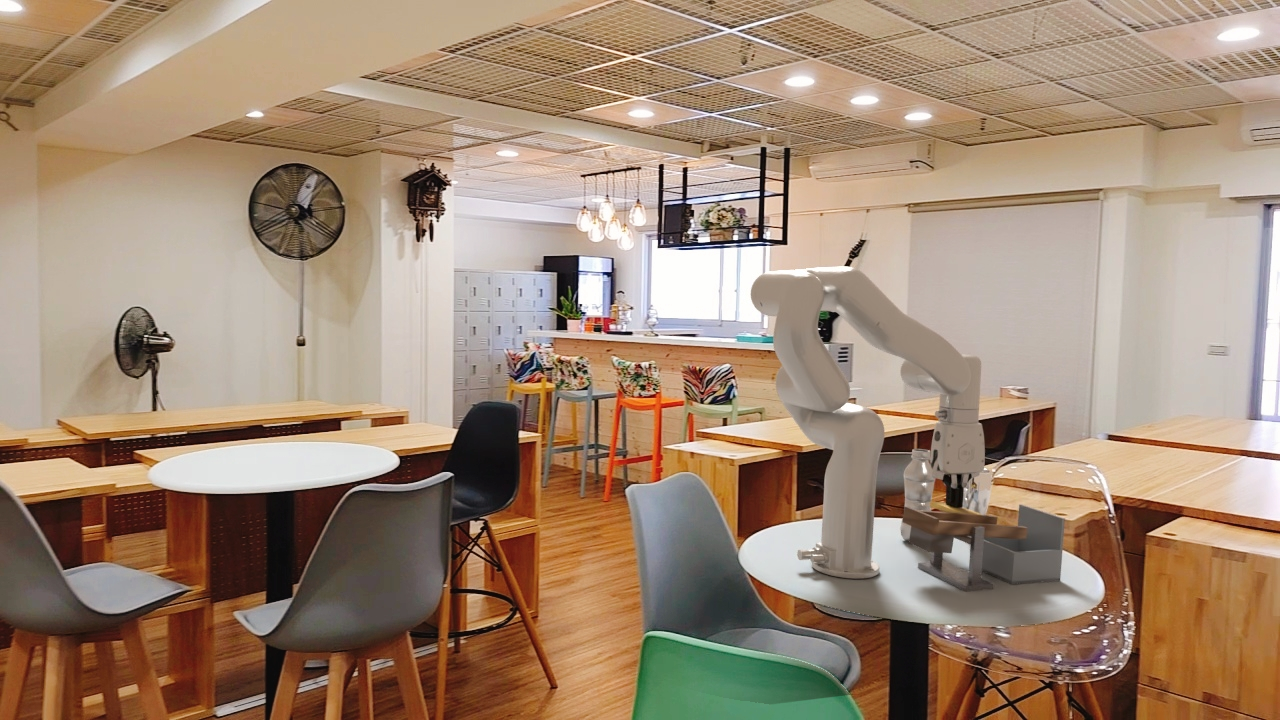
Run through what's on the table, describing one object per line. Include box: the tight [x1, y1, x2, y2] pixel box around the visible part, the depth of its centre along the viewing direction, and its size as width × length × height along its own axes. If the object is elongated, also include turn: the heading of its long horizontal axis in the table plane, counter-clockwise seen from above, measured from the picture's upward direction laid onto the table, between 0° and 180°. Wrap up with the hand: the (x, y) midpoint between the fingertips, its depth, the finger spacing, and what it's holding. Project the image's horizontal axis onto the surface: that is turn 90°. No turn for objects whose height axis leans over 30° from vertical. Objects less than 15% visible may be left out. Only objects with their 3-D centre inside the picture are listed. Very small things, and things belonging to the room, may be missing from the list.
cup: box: [982, 504, 1066, 585], centre depth 169 cm, size 11×11×12 cm
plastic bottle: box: [899, 448, 936, 542], centre depth 188 cm, size 6×7×20 cm
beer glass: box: [963, 468, 992, 538], centre depth 195 cm, size 7×7×15 cm
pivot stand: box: [917, 526, 995, 592], centre depth 164 cm, size 6×14×11 cm, turn 18°
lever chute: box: [901, 500, 1028, 554], centre depth 169 cm, size 21×19×6 cm
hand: (954, 505), depth 177 cm, fingers closed
